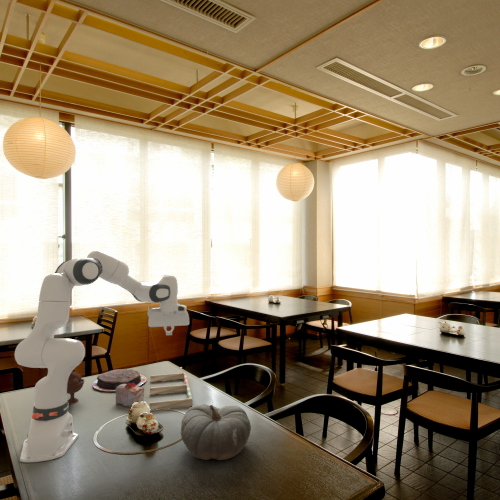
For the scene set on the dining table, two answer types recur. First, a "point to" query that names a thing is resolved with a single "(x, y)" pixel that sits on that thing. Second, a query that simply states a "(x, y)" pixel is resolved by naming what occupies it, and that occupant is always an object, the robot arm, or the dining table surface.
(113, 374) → the chocolate cake
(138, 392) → the food item
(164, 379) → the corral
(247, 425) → the gourd
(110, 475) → the dining table surface
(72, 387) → the ice cream bowl
